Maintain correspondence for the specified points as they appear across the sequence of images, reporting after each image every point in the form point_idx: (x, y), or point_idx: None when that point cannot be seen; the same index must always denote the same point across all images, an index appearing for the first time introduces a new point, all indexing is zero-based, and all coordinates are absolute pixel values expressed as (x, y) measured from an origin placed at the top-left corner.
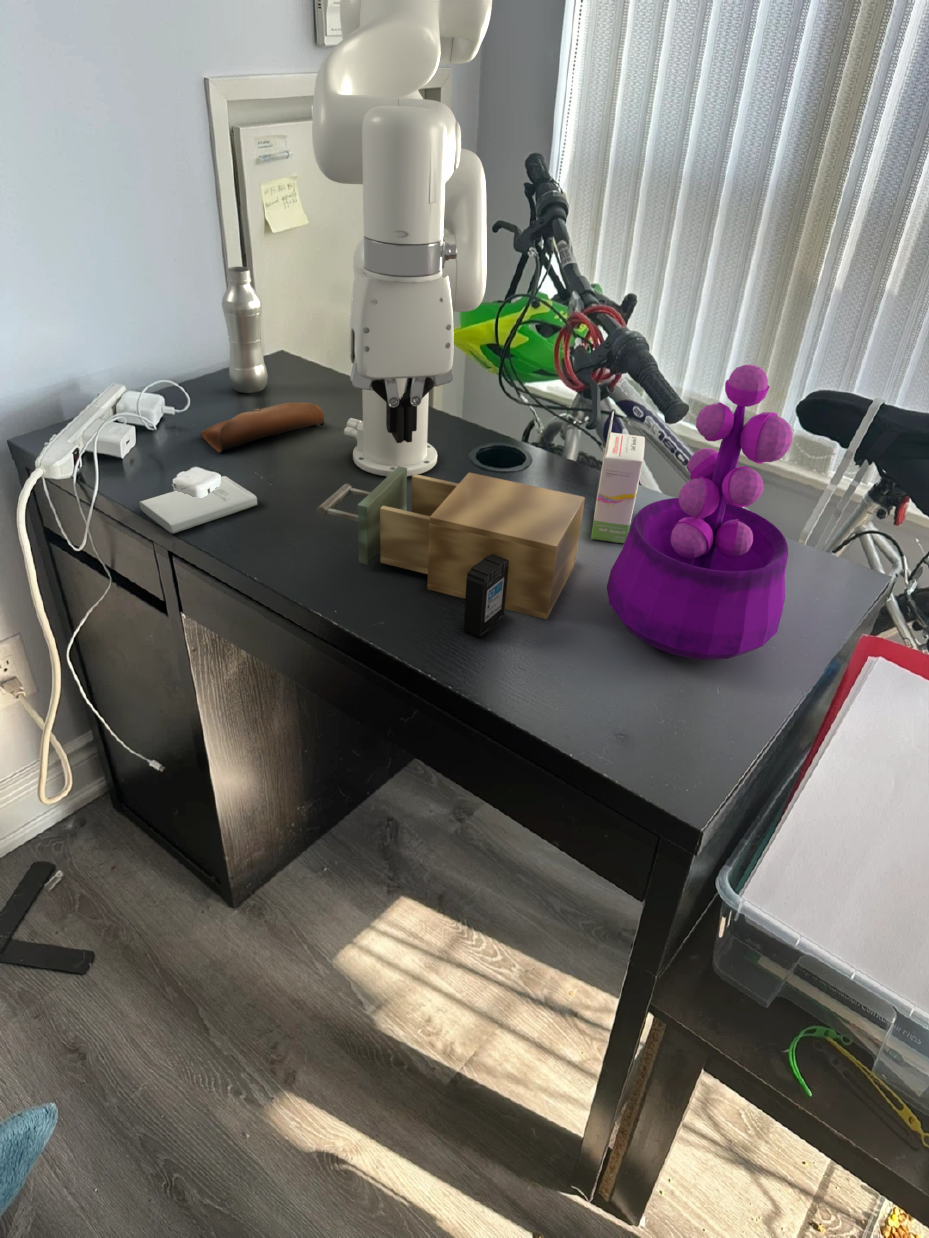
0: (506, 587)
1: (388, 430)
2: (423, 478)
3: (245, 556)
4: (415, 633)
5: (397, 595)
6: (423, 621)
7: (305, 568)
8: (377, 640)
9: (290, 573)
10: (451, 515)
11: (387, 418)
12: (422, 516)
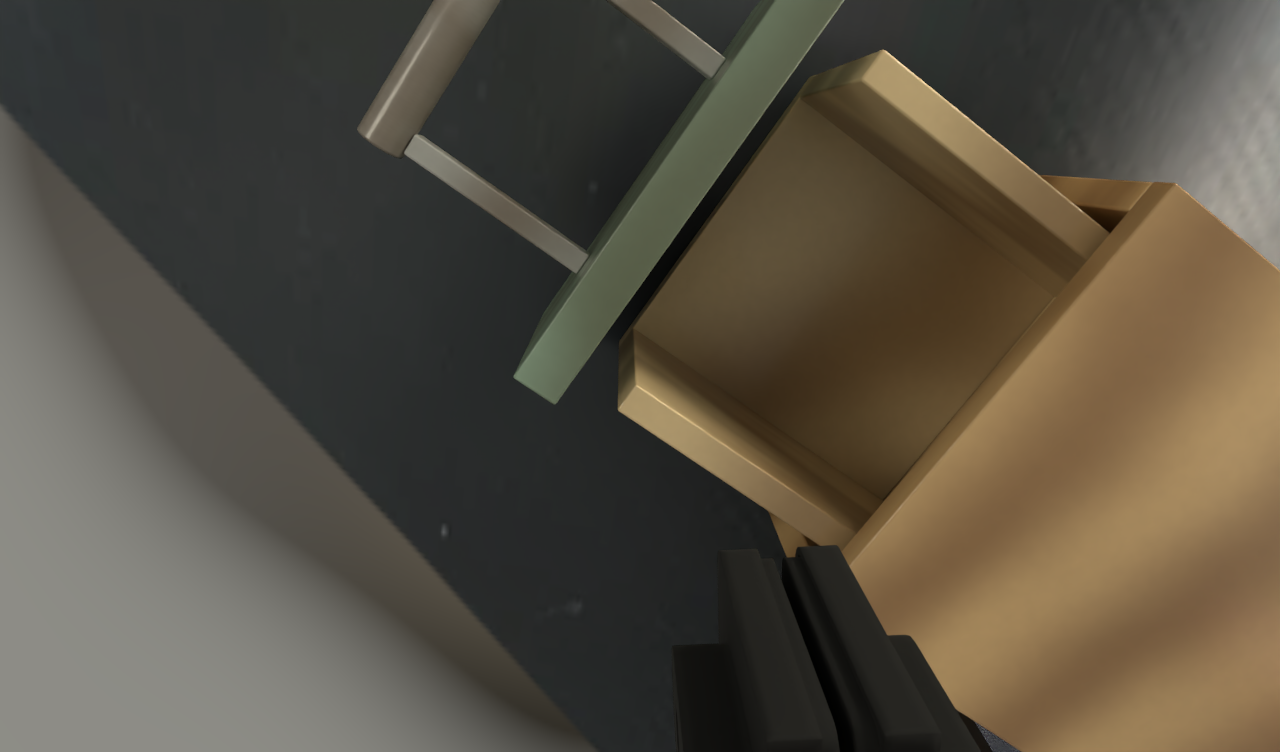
0: (974, 722)
1: (674, 708)
2: (915, 117)
3: (127, 143)
4: (660, 666)
5: (648, 481)
6: (696, 619)
7: (355, 268)
8: (548, 678)
9: (301, 292)
10: (910, 615)
11: (679, 738)
12: (792, 513)
